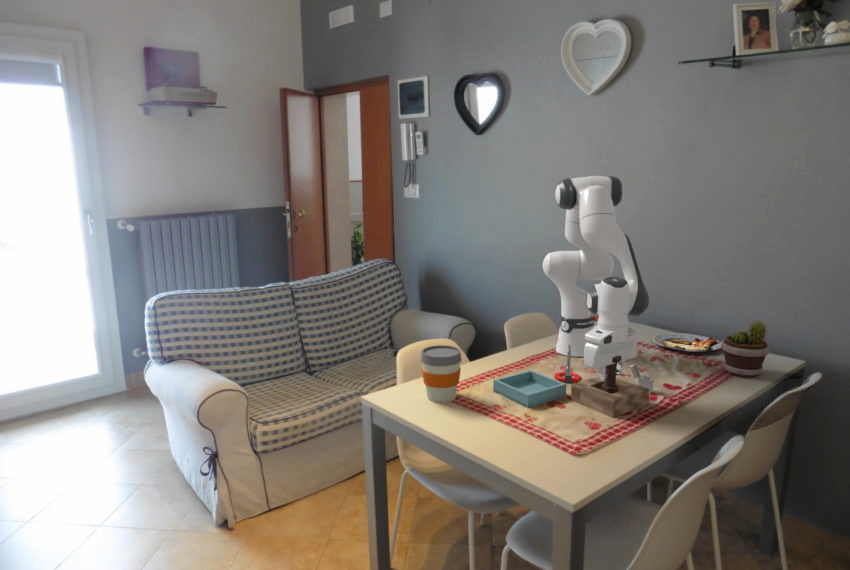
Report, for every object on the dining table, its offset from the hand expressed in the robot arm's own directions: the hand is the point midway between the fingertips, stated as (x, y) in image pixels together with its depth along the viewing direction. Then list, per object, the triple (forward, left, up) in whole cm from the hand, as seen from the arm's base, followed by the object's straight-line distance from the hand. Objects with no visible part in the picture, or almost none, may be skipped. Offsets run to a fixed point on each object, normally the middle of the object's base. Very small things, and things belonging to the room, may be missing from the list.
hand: (610, 376), depth 182 cm
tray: (+15, -19, -8) cm, 26 cm away
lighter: (-16, -1, -8) cm, 18 cm away
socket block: (0, 0, -8) cm, 8 cm away
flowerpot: (-57, +9, -8) cm, 58 cm away
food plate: (-70, -20, -9) cm, 73 cm away
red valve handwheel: (-5, -22, -8) cm, 24 cm away
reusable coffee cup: (+39, -33, -8) cm, 52 cm away
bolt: (0, 0, -8) cm, 8 cm away
